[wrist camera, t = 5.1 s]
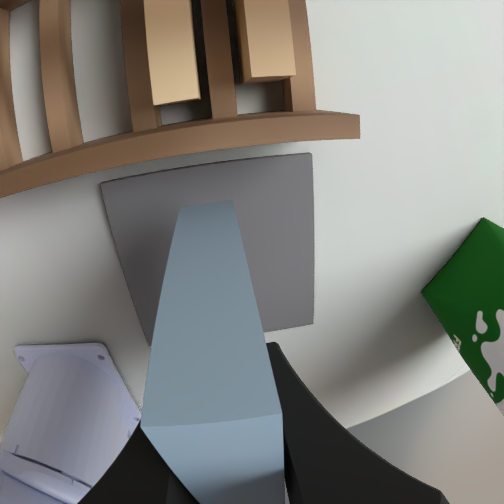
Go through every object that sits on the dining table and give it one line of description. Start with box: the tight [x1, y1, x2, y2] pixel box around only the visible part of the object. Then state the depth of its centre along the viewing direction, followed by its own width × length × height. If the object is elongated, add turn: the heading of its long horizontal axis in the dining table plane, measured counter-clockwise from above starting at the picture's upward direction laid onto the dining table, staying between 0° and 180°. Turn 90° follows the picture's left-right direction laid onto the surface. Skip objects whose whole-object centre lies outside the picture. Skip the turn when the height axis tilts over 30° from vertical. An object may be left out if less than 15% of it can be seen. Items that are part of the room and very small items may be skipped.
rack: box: [0, 0, 360, 198], centre depth 9 cm, size 10×16×5 cm, turn 95°
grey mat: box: [100, 153, 314, 346], centre depth 16 cm, size 10×10×1 cm
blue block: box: [140, 200, 285, 504], centre depth 10 cm, size 8×2×9 cm, turn 5°
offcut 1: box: [144, 0, 201, 105], centre depth 10 cm, size 7×2×4 cm, turn 5°
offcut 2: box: [232, 0, 296, 85], centre depth 10 cm, size 6×2×4 cm, turn 5°
